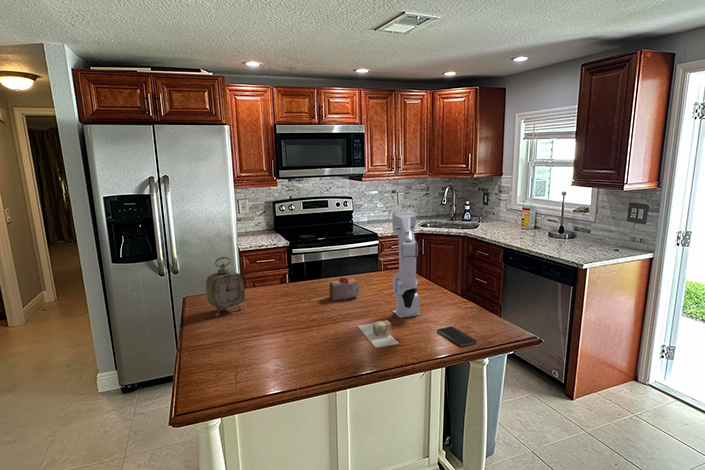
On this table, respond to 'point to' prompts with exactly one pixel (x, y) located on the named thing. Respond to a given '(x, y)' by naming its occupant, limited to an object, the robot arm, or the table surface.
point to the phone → (456, 336)
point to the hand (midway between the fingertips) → (408, 307)
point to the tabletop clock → (225, 288)
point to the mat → (377, 337)
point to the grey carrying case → (343, 289)
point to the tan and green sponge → (382, 328)
